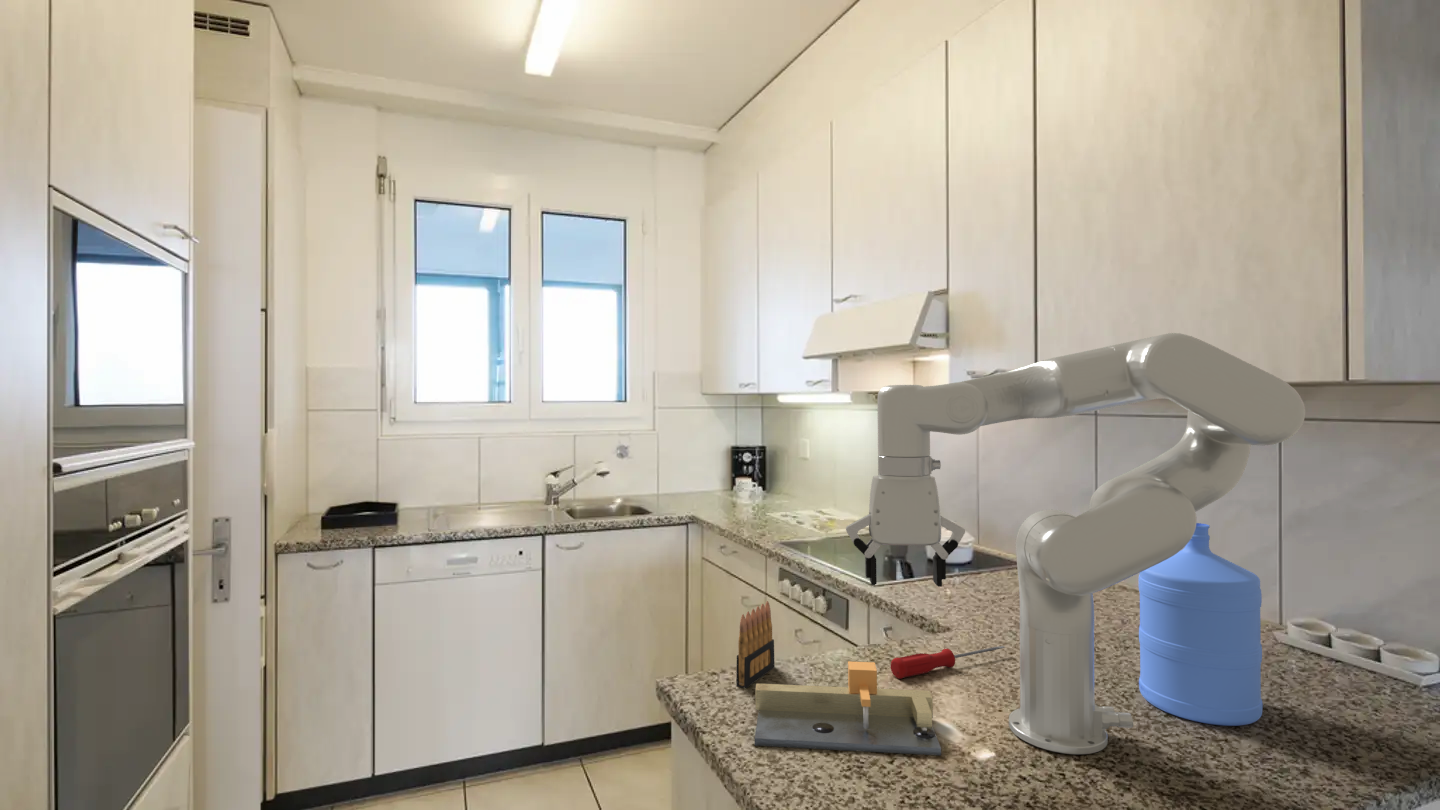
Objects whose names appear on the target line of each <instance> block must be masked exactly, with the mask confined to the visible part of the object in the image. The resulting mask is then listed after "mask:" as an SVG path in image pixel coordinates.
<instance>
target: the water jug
mask: <svg viewBox="0 0 1440 810" xmlns="http://www.w3.org/2000/svg"><path fill="white" fill-rule="evenodd" d="M1210 527H1211V526H1210V525H1209V524H1207V523H1201V522H1200V523H1199V522H1197V523H1196V529H1195V532H1194V534H1193V536H1192V538H1191V540H1190V541H1189V542H1188V544H1187V545H1186V546H1185V547H1184V548H1183V549H1182V550H1180V551H1179V552H1178V553H1177V554H1175V555H1174V556H1172V557H1170V558H1168V559H1166V560H1165V561H1163V562H1161V563H1159V564H1156V565H1154V566H1152V567H1150V568H1148V569H1146V570H1144V571H1142V572H1140V573H1138V591H1139V626H1138V641H1139V654H1140V655H1139V656H1140V657H1139V659H1140V660H1139V663H1140V665H1139V667H1140V668H1139V673H1140V674H1139V677H1138V678H1139V679H1138V687H1139V688H1138V689H1139V692H1140V694H1141V696H1142V697H1143V698H1144V699H1145V700H1146V701H1147V702H1148V703H1150V704H1151V705H1152V706H1153V707H1156V708H1157V709H1159V710H1161V711H1164V712H1165V713H1168V714H1170V715H1173V716H1176V717H1179V718H1182V719H1185V720H1190V721H1193V722H1197V723H1202V724H1208V725H1215V726H1224V727H1225V726H1226V727H1227V726H1228V727H1232V726H1233V727H1237V726H1246V725H1250V724H1253V723H1255V722H1257V721H1258V720H1259V719H1260V718H1261V717H1262V715H1263V707H1264V706H1263V703H1264V702H1263V699H1262V684H1261V683H1262V682H1261V681H1262V676H1261V675H1262V673H1261V671H1262V669H1261V665H1262V661H1263V646H1262V642H1261V641H1262V640H1261V639H1262V637H1261V636H1262V635H1261V632H1262V631H1261V629H1262V628H1261V626H1262V625H1261V622H1262V621H1261V607H1262V601H1263V600H1262V599H1263V598H1262V597H1263V596H1262V595H1263V594H1262V589H1261V579H1260V577H1259V576H1258V575H1257V574H1255V573H1254V572H1252V571H1250V570H1249V569H1246V568H1244V567H1242V566H1240V565H1239V564H1236V563H1234V562H1232V561H1230V560H1227V559H1225V558H1224V557H1222V556H1220V555H1217V554H1215V553H1213V552H1212V550H1211V549H1210V538H1211V537H1210V535H1209V530H1210Z"/></svg>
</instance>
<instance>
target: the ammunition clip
mask: <svg viewBox="0 0 1440 810" xmlns="http://www.w3.org/2000/svg"><path fill="white" fill-rule="evenodd" d="M738 632H739V633H738V635H739V636H738V643H737V644H738V652H737V653H738V654H737V655H736V675H735V676H736V680H735V681H736V682H735V683H736V685H735V686H736V687H738V688H743V689H747V688H749V687H750V686H751V685H753V684H754V683H755V682H757V681H759V680H760V679H761V678H762V677H764V676H765V675H766V674H767V673H769V672H771V671H772V670H773V669H774V668H775V640H774V639H773V624H772V612H771V606H770V603H769V601H768V600H766V601H765V604H764V603H761V605H760V606H759V605H757V606H756V609H754V608H752V610H751V612H750V611H747V613H746V615H744V613H742V614H741V617H740V621H739V631H738Z"/></svg>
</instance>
